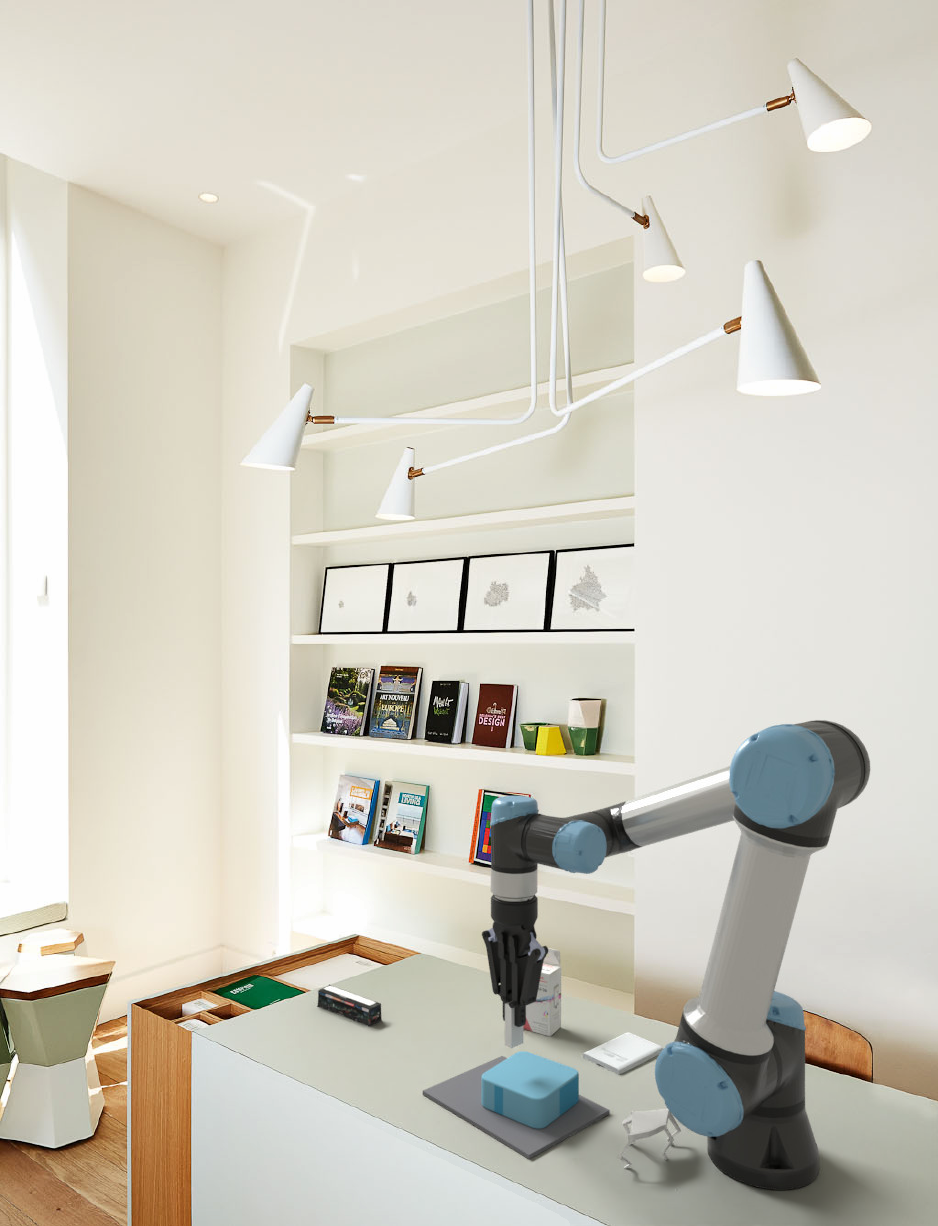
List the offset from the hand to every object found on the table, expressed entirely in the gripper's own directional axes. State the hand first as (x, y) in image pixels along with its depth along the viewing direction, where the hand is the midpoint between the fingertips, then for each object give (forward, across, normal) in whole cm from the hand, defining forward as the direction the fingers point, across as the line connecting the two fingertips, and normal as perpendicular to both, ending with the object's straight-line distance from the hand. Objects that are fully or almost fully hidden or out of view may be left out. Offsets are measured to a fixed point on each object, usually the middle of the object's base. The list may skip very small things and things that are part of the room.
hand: (514, 1043), depth 140 cm
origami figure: (+10, -22, -4) cm, 25 cm away
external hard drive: (+10, -1, -26) cm, 28 cm away
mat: (+9, 0, 0) cm, 9 cm away
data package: (+7, +4, 0) cm, 8 cm away
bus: (+10, +44, +1) cm, 45 cm away
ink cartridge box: (+10, +17, -23) cm, 30 cm away
